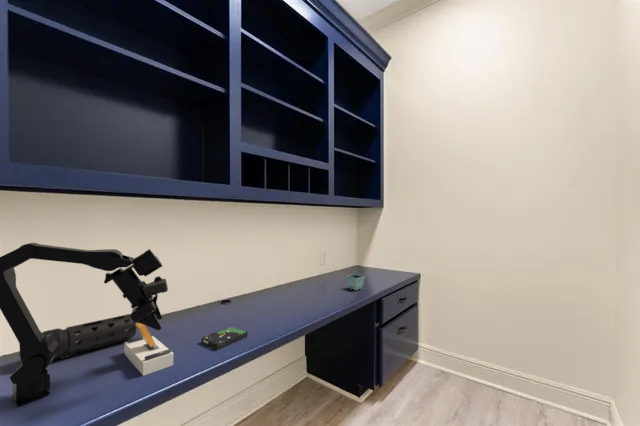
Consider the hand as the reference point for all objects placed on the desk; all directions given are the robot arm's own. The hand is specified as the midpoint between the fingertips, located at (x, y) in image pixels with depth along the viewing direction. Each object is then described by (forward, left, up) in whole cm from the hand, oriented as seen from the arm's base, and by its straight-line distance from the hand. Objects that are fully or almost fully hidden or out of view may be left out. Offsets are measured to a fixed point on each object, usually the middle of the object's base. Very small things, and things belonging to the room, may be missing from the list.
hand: (160, 323), depth 96 cm
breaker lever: (+2, +9, -10) cm, 14 cm away
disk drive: (+27, +1, -16) cm, 31 cm away
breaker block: (+1, +10, -15) cm, 18 cm away
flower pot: (+129, -7, -15) cm, 130 cm away
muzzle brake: (-7, +34, -15) cm, 38 cm away
